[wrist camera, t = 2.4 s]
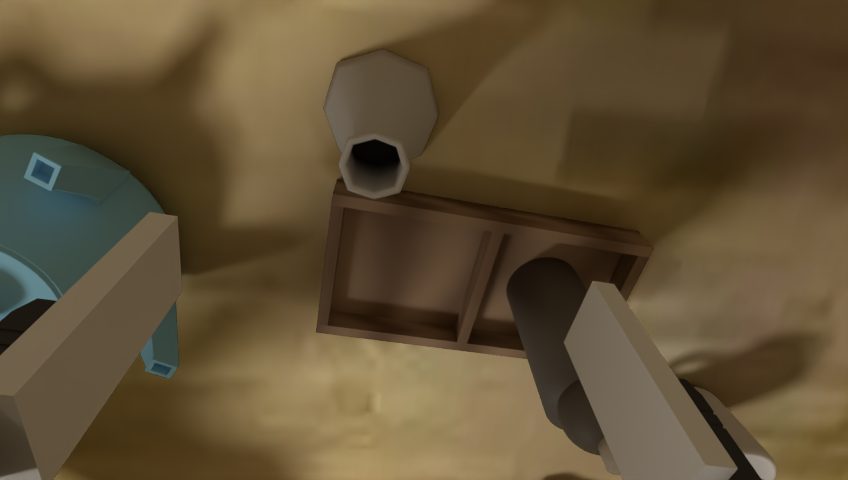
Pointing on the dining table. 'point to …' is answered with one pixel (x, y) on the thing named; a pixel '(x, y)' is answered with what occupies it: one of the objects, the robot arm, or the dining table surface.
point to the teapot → (68, 226)
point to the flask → (379, 119)
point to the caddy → (452, 268)
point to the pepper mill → (555, 348)
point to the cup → (742, 438)
